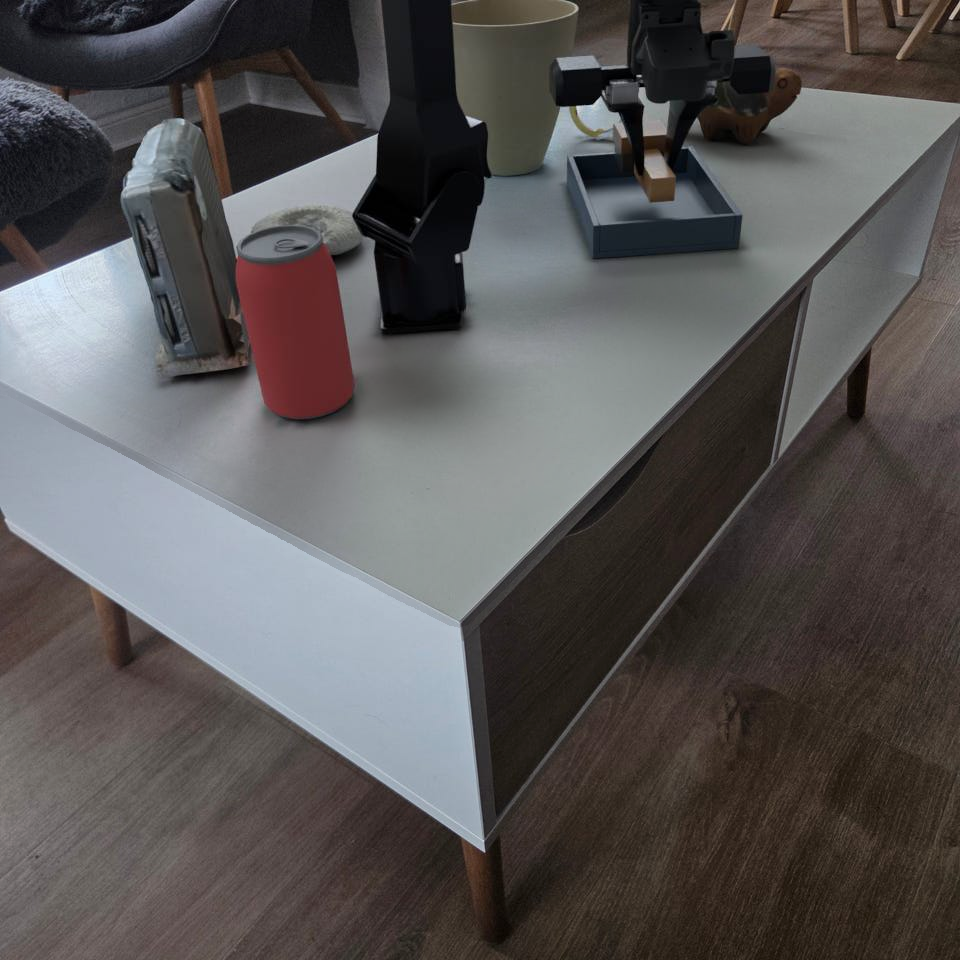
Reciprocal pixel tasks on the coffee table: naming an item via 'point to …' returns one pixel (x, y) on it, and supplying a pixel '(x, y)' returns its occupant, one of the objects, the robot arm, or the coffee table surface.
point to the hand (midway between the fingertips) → (653, 173)
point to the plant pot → (511, 74)
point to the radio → (185, 252)
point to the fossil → (319, 225)
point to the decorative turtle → (749, 108)
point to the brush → (648, 160)
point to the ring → (586, 130)
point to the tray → (650, 208)
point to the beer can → (294, 321)
